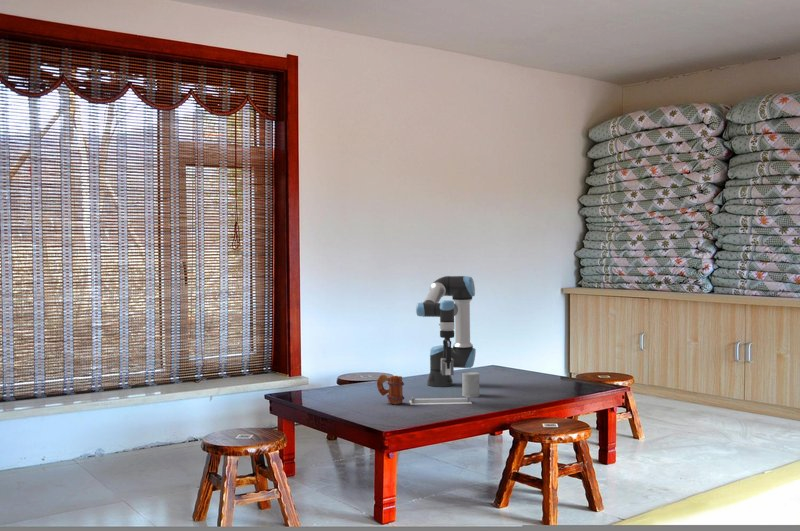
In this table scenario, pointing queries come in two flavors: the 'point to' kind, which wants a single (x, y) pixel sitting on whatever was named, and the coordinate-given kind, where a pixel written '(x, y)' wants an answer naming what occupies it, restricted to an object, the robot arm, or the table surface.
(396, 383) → the mug
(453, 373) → the block
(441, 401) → the rail panel
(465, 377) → the light grey cylinder
